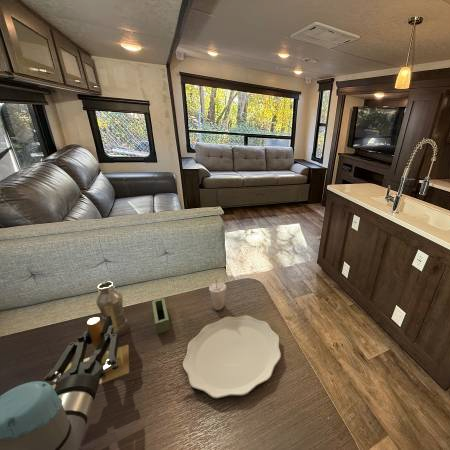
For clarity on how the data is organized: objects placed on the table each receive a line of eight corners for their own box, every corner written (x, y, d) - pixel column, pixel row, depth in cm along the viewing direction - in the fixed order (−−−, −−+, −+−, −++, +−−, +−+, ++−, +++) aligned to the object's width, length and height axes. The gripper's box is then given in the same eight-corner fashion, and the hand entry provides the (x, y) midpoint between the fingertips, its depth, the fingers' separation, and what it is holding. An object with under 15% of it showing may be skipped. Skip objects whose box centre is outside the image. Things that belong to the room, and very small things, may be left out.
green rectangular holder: (154, 313, 92) (151, 300, 90) (166, 310, 95) (164, 297, 92) (157, 337, 83) (155, 323, 81) (170, 332, 85) (168, 319, 83)
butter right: (107, 360, 73) (105, 351, 71) (122, 355, 74) (120, 346, 73) (107, 371, 69) (104, 362, 68) (122, 365, 71) (120, 357, 70)
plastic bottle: (108, 329, 84) (94, 281, 76) (131, 324, 87) (120, 277, 79) (103, 344, 79) (88, 293, 71) (129, 338, 82) (116, 289, 74)
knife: (99, 358, 73) (88, 312, 66) (110, 355, 74) (100, 309, 68) (97, 382, 67) (85, 333, 60) (109, 377, 68) (98, 329, 62)
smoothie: (206, 308, 97) (204, 278, 92) (218, 299, 103) (217, 270, 97) (218, 314, 95) (217, 284, 89) (230, 305, 100) (229, 276, 95)
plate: (205, 427, 60) (205, 421, 60) (172, 345, 81) (172, 340, 80) (297, 364, 78) (298, 358, 77) (252, 309, 99) (252, 305, 98)
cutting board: (52, 373, 69) (50, 370, 68) (129, 347, 79) (128, 344, 78) (42, 410, 61) (40, 406, 60) (130, 376, 70) (129, 372, 70)
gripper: (26, 428, 49) (71, 337, 69) (120, 400, 55) (137, 324, 75) (12, 404, 46) (63, 317, 66) (113, 377, 53) (133, 305, 72)
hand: (102, 321), depth 70 cm, fingers closed on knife, 3 cm apart
